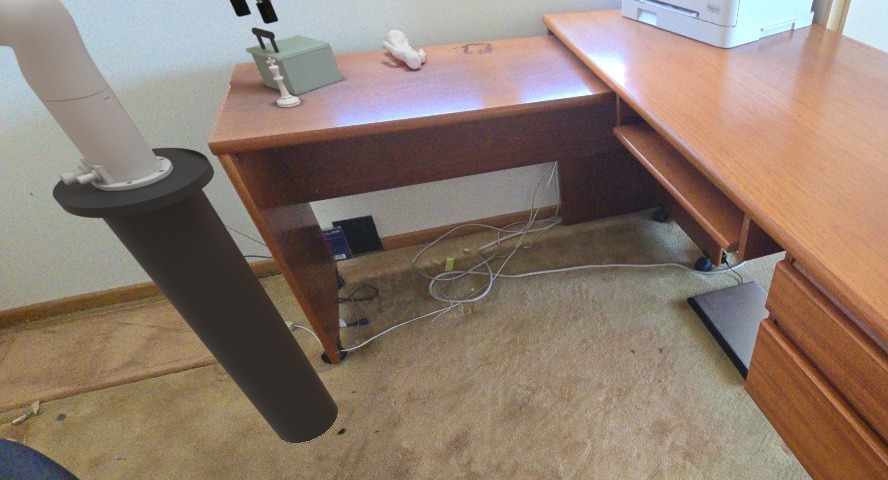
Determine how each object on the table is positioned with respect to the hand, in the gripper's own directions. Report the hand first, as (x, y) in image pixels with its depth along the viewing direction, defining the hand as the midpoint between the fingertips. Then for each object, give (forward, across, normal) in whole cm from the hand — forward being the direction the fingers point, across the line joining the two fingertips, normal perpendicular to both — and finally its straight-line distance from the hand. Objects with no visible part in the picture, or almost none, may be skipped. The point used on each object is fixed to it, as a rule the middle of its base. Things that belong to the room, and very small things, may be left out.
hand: (257, 18), depth 119 cm
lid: (+7, 0, +4) cm, 9 cm away
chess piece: (+15, +9, -6) cm, 19 cm away
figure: (+16, +8, +32) cm, 36 cm away
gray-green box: (+15, 0, +5) cm, 16 cm away
